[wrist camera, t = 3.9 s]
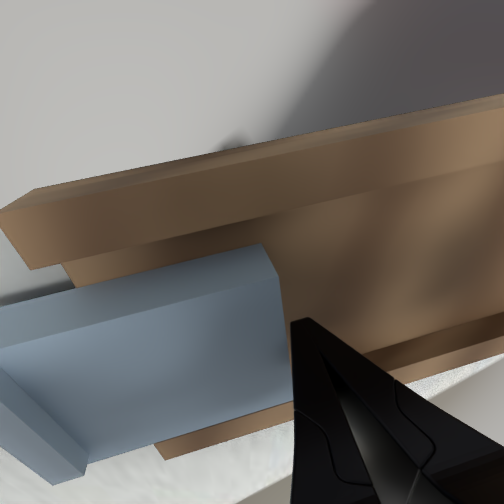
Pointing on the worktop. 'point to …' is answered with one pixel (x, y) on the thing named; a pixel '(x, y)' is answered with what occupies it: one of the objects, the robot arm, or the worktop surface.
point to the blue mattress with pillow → (140, 360)
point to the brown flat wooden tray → (313, 235)
